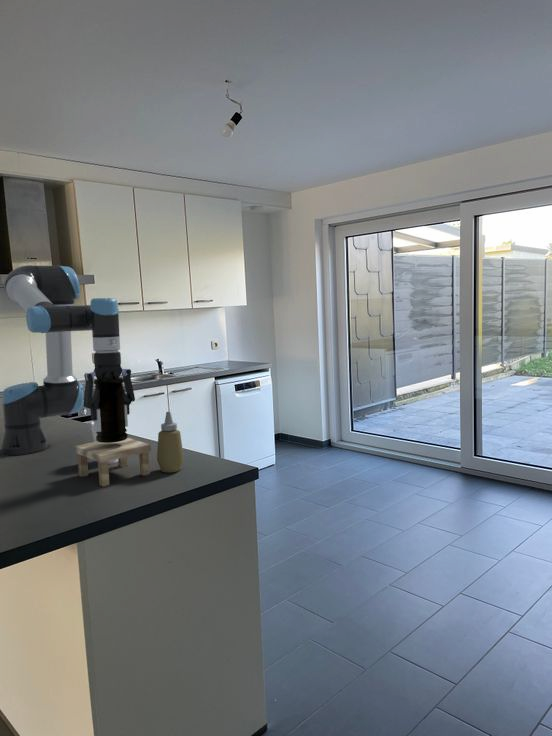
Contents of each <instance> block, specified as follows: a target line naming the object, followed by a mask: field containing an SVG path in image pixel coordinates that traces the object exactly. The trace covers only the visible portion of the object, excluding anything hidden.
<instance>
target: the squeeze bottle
mask: <svg viewBox="0 0 552 736" xmlns="http://www.w3.org/2000/svg"><path fill="white" fill-rule="evenodd" d="M164 418H165V419H164V422H163V423H161V424H160V429H161V430H160V431H159V432H158V433H157V435H158V437H157V449H156V450H157V453H156V461H157V463H158V466H159V468H160V469H159V470H160V471H161V472H162V473H176V472H179V471H181V469H182V467H183V464H184V459H185V458H184V451H183V449H184V448H183V443H182V437H181V431H180V430H179V429H178V423H177V422H173V421H174V420H173V417H172V413H171V411H166V413H165V417H164Z"/></svg>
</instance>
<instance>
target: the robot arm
mask: <svg viewBox="0 0 552 736" xmlns="http://www.w3.org/2000/svg"><path fill="white" fill-rule="evenodd" d="M3 287H4V291H5V293H6V295H7V296H8V298H9V299H11V300H12V301H13V302H15V303H18V304H19V306H20V307H21V308H22V309H23V311H24V312H25V313H26V314H25V320H26V321H25V322H26V326H27V329H28V331H29V332H31V333H34V334H35V333H36V334H37V333H40V334H45V348H46V349H45V350H46V351H45V353H46V369H47V370H46V371H47V373H46V374H47V375H46V376H45V377H44V378H43V379H42V381H43V382H42V383H43V385H39V384H38V383H37V382H34V381H32V382H25V383H24V382H23V383H17V384H14V385H10V386H8V387H6V388H4V389H3V391H2V393H1V400H2V401H1V404H2V409H3V410H2V411H3V424H4V425H3V426H4V430H3V431H4V432H3V436H2V438H1V439H2V440H1V442H0V443H1V444H0V453H1V454H3V455H9V456H13V455H14V456H17V455H27V454H32V453H38V452H41V451H43V450H46V449H47V448H48V440H47V438H46V435H45V433H44V431H43V429H42V425H41V419H45V418H52V417H59V416H69V415H72V414H77V413H78V412H80V410H81V408H82V407H83V408H85V409H86V408H87V409H89V410H90V419H91V421H92V422H93V421H94V431H97V432H101V418H100V409H97V407H98V404H99V401H100V396H99V395H100V389H96V388H95V387H94V380H95V379H97V380H101V381H105V380H111V379H120V378H121V377H120V376H121V375H122V378H123V380H124V382H123V387H122V388H123V399H124V418H125V428H127V427H129V424H128V422H129V421H128V420H129V419H128V416H129V415H130V413H131V412H130V405H131V404H132V403H133V402H135V401H136V396H135V391H134V386H133V382H132V377H131V375H132V370H131V369H128V368H124V369H123V368H122V365H121V364H122V356H121V355H122V354H121V351H120V350H121V341H120V339H121V338H120V317H119V312H120V310H119V304H118V301H117V299H116V298H114V297H100V298H99V297H97V298H95V297H94V298H91V300H90V304H85V305H75V300H78V299H79V298H80V293H81V291H80V290H81V288H80V282H79V278H78V276H77V273H76V272H75V269H73V268H71V266H63V265H33V264H32V265H29V264H28V265H22V266H19V267H16V268H15V269H12V271H10V272H9V273H8V274H7V275H6V277H5V280H4V283H3ZM84 331H86V332H87V331H92V346H93V347H92V350H93V351H94V353H93V366H94V370H93V372H89V373H88V372H85V373H84V375H83V377H84V379H85V385H84V387H83V384H82V383H81V382H80V381H78V377H76V375H74V373H73V372H74V371H73V355H72V354H73V350H72V346H73V345H72V332H84ZM93 391H94V392H93Z"/></svg>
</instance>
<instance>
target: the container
mask: <svg viewBox="0 0 552 736" xmlns="http://www.w3.org/2000/svg"><path fill="white" fill-rule="evenodd" d="M119 378H120V379H111V380H105V381H101V380H97V378H94V380H93V385H94V389H95V388H96V389H100V395H99V396H100V401H99V404H98V407H97V409H100V418H101V432H96V433H97V434H98V435H97V436H96V440H97V441H98V442H102V443H113V442H120V441H123V440H126V439H127V438H128V436H129V435H128V433H127V431H128V430H127V427H125V418H124V399H123V388H124V380H123V377H119ZM122 387H123V388H122Z"/></svg>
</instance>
